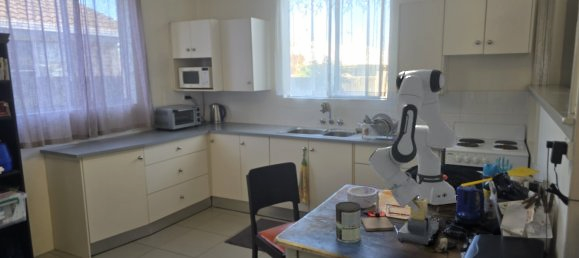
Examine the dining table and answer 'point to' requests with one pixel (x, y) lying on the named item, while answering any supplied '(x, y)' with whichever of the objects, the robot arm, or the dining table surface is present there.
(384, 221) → the walnut board
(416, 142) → the robot arm
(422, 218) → the pale yellow block
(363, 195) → the white bowl
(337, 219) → the coffee can
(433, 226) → the vise
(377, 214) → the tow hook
